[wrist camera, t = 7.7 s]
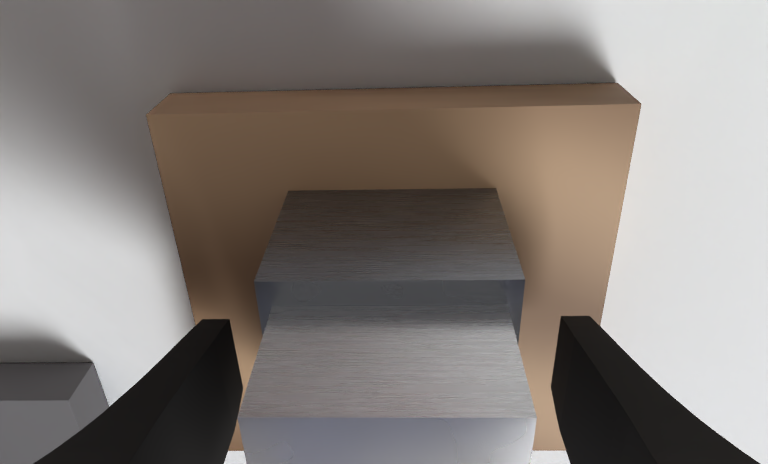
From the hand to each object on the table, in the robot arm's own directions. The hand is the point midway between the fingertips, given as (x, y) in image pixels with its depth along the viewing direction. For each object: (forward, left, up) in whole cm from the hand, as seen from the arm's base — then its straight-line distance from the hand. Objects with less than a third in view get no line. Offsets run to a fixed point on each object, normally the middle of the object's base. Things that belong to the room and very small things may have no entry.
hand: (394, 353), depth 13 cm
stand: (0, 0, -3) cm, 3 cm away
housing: (0, 0, -2) cm, 2 cm away
